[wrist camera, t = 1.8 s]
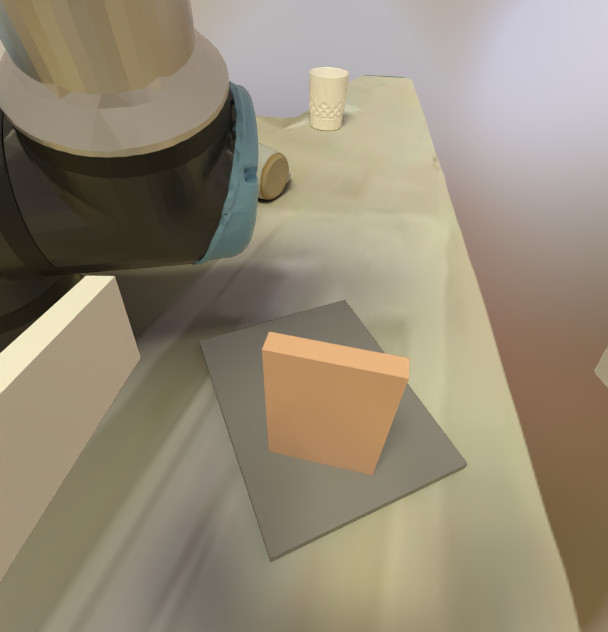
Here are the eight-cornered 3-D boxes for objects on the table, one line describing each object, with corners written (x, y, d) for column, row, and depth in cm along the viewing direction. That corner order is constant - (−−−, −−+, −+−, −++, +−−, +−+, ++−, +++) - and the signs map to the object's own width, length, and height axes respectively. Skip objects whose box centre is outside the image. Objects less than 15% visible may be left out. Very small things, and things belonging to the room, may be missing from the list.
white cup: (324, 134, 80) (327, 79, 72) (299, 123, 84) (301, 70, 77) (351, 127, 83) (357, 73, 76) (326, 117, 87) (330, 65, 80)
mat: (200, 346, 38) (199, 340, 38) (344, 305, 43) (344, 299, 42) (270, 561, 25) (270, 558, 25) (464, 468, 30) (467, 463, 30)
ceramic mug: (264, 210, 57) (262, 157, 52) (221, 194, 60) (216, 143, 55) (302, 184, 64) (304, 136, 59) (262, 171, 67) (260, 124, 61)
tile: (372, 475, 29) (408, 378, 20) (268, 451, 30) (261, 349, 21) (374, 455, 30) (409, 355, 21) (274, 432, 31) (270, 329, 22)
